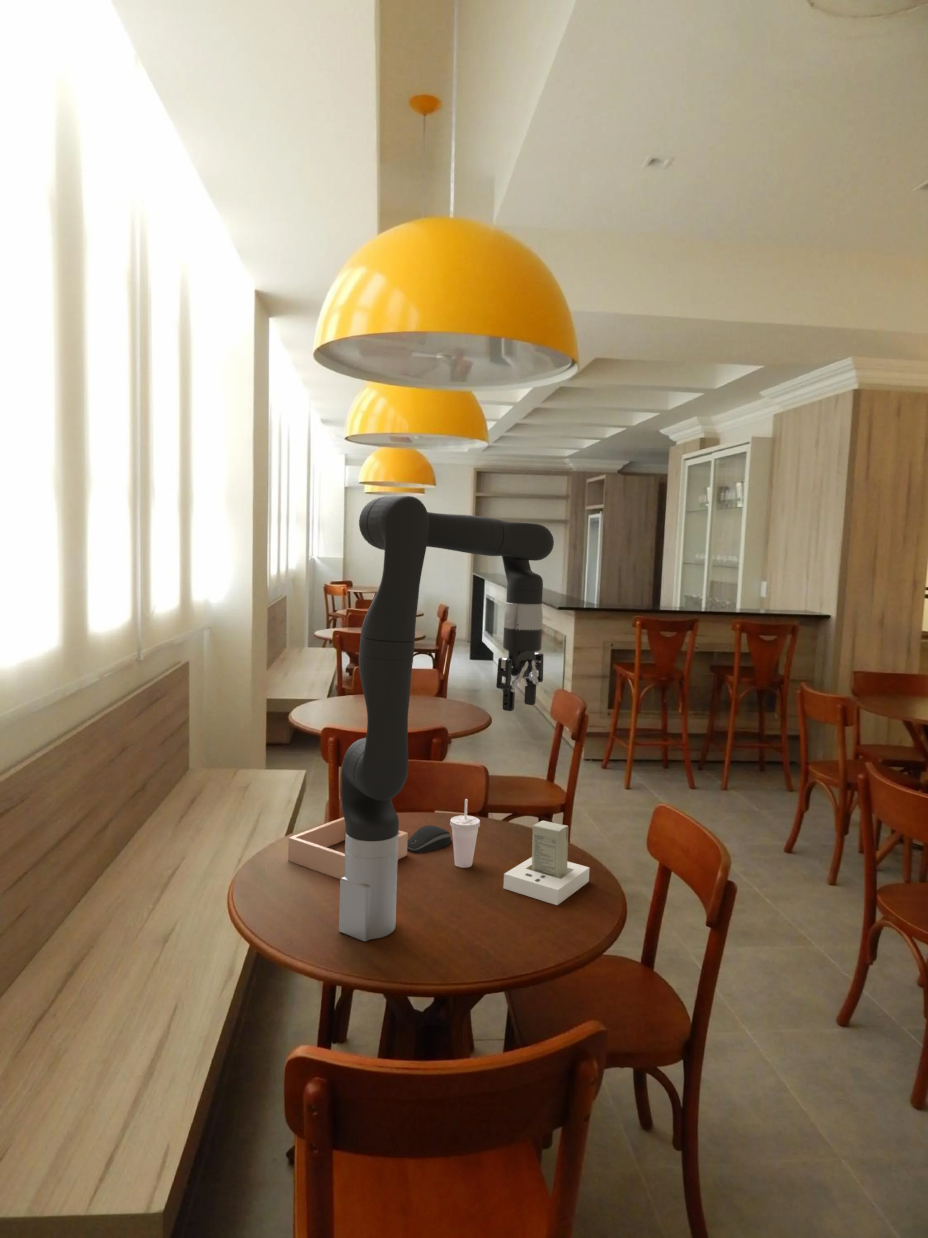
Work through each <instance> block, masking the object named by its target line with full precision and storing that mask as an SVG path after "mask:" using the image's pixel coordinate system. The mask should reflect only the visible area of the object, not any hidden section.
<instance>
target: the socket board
mask: <svg viewBox="0 0 928 1238" xmlns="http://www.w3.org/2000/svg"><path fill="white" fill-rule="evenodd" d="M589 881H590V867H588V866H585V865H582V864H578V863H575V862H571V861H569V860H568V861H567V875H566V876H564V877H563V878H561V879H559V878H556V877H552V876H549V875H545V874H542V873H539V872H535V871H532V856H531V857H529V858H528V859H526V860H524V861H523V862H521V863H520V864H518V865H516V866H514V867H513V868H511V869H510V870H508V871H506V872H504V873H503V887H502V888H503V889H504V890H508V891H511V892H514V893H516V894H520V895H524V896H526V897H530V898H533V899H537V900H540V901H542V902H545V903H549V904H552V905H555V906H558V905H560V904H561V903H562V902H564V901H565V900H566V899H568V898H569V897H570V896H572V895H573V894H574V893H575V892H578V891H579V890H581V888H582V887H583V886H585V885H587V884H588V883H589Z"/></svg>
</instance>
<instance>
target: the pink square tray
mask: <svg viewBox="0 0 928 1238" xmlns="http://www.w3.org/2000/svg"><path fill="white" fill-rule="evenodd" d="M345 834H346V832H345V820H344V816H343V817H340V818H338V819H335V820H332V821H330V822H327V823H324V824H321V825H318V826H316V827H313V828H310V829H308V830H306V831H302V832H300V833H297V834H294V835H292V836H289V837H288V842H287V843H288V846H287V850H288V851H287V853H288V854H287V861H289V862H290V863H294V864H296V865H300V866H302V867H305V868H308V869H311V870H314V871H317V872H319V873H322V874H324V875H328V876H329V877H333V878H336V879H339V880H340V879H341V878H343V877H344V867H345V852H344V853H343V852H341V851H337V850H334V849H332V848H329V847H331V846H334V845H335V844H336V845H337V844H338V843H341V842H343V841H344V842H345ZM408 834H409V832H406V831H403V830H399V836H398V860H400V859H402V858H404V857H406V856H408V851H407V842H408V840H409V838H408V836H409V835H408Z"/></svg>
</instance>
